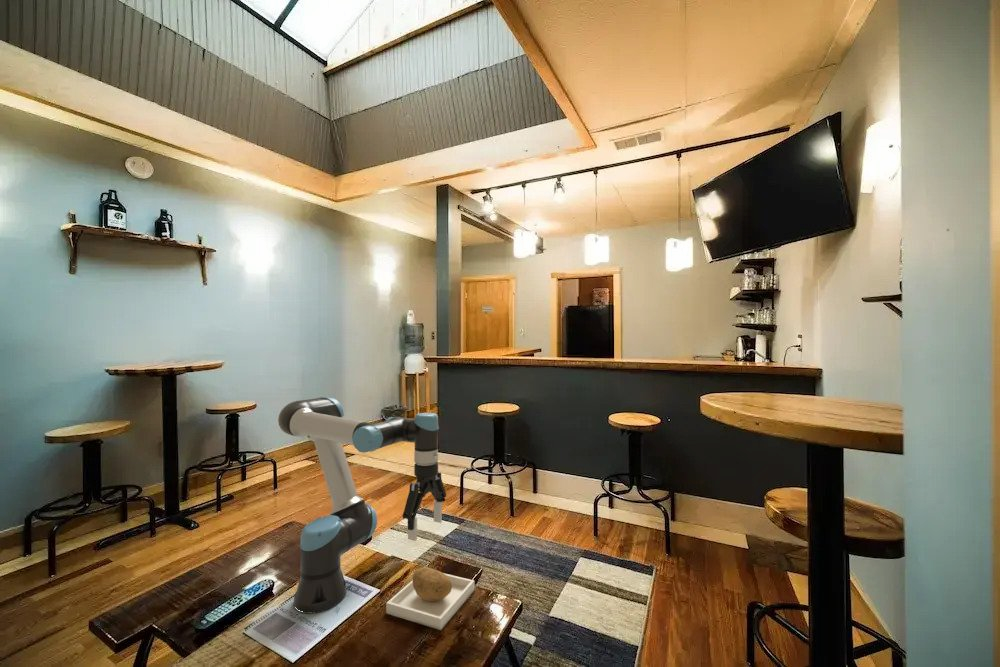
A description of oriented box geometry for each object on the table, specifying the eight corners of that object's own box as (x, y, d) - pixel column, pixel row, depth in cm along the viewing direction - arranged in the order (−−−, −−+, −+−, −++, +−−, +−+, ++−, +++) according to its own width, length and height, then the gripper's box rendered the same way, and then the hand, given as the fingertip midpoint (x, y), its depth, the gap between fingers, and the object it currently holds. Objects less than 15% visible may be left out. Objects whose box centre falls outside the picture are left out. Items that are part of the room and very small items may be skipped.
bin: (386, 613, 116) (386, 602, 116) (425, 577, 134) (425, 568, 135) (440, 630, 108) (440, 619, 109) (474, 590, 127) (474, 580, 127)
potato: (438, 615, 114) (438, 586, 114) (405, 599, 122) (404, 572, 122) (460, 597, 122) (459, 570, 123) (427, 583, 130) (427, 558, 130)
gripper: (411, 475, 113) (410, 550, 112) (456, 454, 135) (456, 517, 134) (391, 471, 116) (389, 545, 115) (438, 452, 138) (437, 513, 137)
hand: (425, 530), depth 124 cm, fingers open, 13 cm apart
